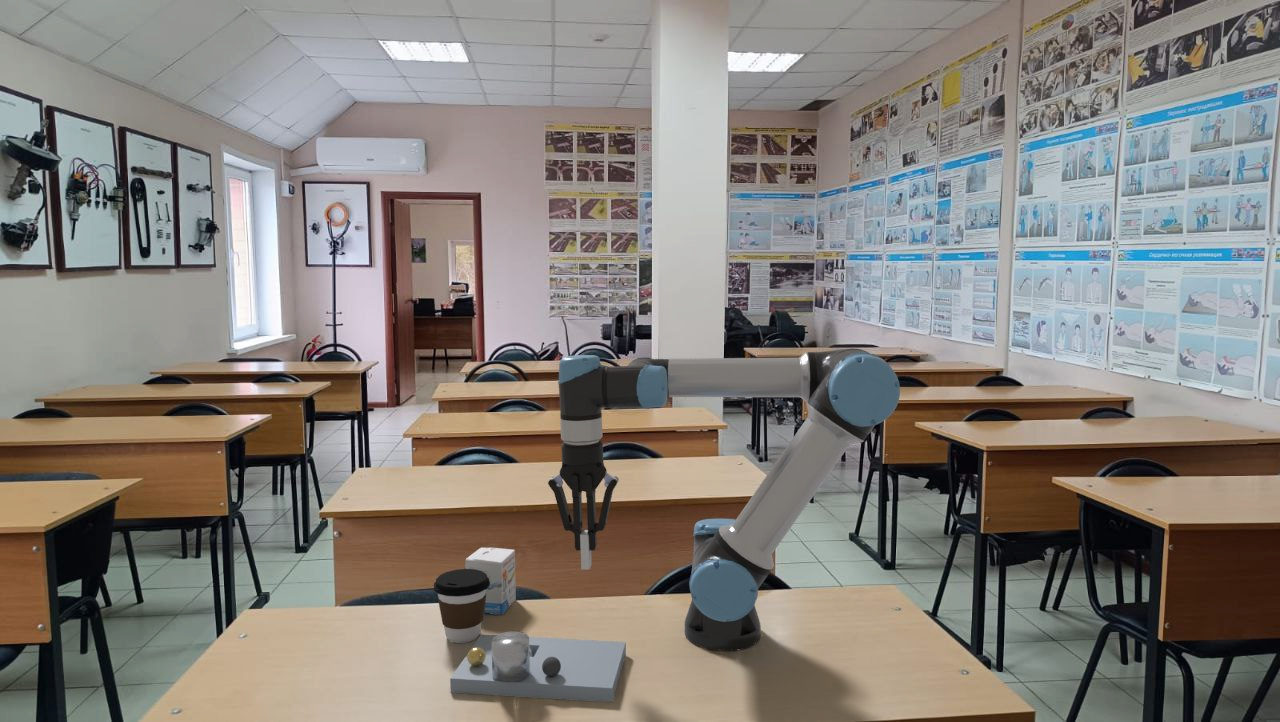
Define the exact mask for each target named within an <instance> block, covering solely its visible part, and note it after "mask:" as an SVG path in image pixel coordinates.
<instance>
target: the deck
mask: <svg viewBox="0 0 1280 722" xmlns="http://www.w3.org/2000/svg"><path fill="white" fill-rule="evenodd" d="M496 635H497V634H483V633H482V634H480V636H478V637H479V638H477V639H476V642H475V643H474V645H473V646H472V647H471V649H472V648H474V647H480V648H482V649H483V650H484V651H485V654H486V658H485V661H484V662H483V663H482V664H481V665H480V666H472V665H470V664H469V662H468V660H467V655H468V653H467V654H466V656H465V657H464V659H463V660H462V661H461V663H460V664H459V665H458V666H457V668H456V669H455V671H454V672H453V673H452V675H451V676H450V679H449V682H450V686H449V687H450V689H449V690H450V693H453V694H455V693H456V694H457V693H458V694H470V695H489V696H501V697H502V696H504V697H519V698H520V697H521V698H534V699H552V700H553V699H554V700H566V701H567V700H568V701H583V702H585V701H586V702H600V703H613V700H614V697H615V695H616V691H617V687H618V684H619V681H620V676H621V673H622V670H623V666H624V662H625V659H626V656H627V653H626V652H627V647H626V644H627V643H626V641H612V640H593V639H592V640H591V639H576V638H575V639H574V638H555V637H538V636H529V648H530V649H531V650H532V653H533V657H530V673H529V675H528V676H527V677H526V678H525V679H523V680H520V681H517V682H500V681H497V680H495V679H494V678H493V676H492V639H493V638H494V637H495V636H496ZM548 657H556V658H557V659H558V660H559V661H560V664H561V669H560V671H559V673H558V674H557V675H555V676H553V677H550V676H547V675H545V674H544V672H543V670H542V664H543V662H544V660H545V659H546V658H548Z"/></svg>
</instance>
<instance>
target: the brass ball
mask: <svg viewBox="0 0 1280 722" xmlns="http://www.w3.org/2000/svg"><path fill="white" fill-rule="evenodd" d="M467 654H468V655H467ZM467 654H466V656H467V660H468V662H469V664H470V665H472V666H480V665H481V664H482V663H483V662H484V661H485V658H486V654H485V651H484V650H483V649H482V648H480V647H474V648H472V647H471V649H469V651H468V652H467Z"/></svg>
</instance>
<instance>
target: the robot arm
mask: <svg viewBox="0 0 1280 722" xmlns="http://www.w3.org/2000/svg"><path fill="white" fill-rule="evenodd" d="M558 363H559V364H558V382H557V384H558V392H559V409H560V410H559V413H560V414H559V415H560V417H559V420H560V439H561V441H562V444H560V445H561V447H560V448H561V467H560V469H559V473H558V474H557V475H555V476H552V477H551V478H550V479H549V480H548V481H547V485H548V487H549V488H550V489H551V491H552V492H553V493H554V498H555V500H556V505H557V507H558V512H559V515H560V518H561V523H562V525H563V530H564V531H566V532H567V531H570V532H572V533H573V535H574V549H575V550H576V551H580V567H581V568H580V569H581V570H585V571H586V570H587V571H589V570H590V569H591V567H592V564H593V561H592V560H593V559H592V558H593V557H592V551H596V549H597V532H598V533H599V532H602V531H603V530H604V529H605V528H606V525H607V521H608V516H609V511H610V507H611V503H612V502H611V501H612V497H613V493H614V489H615V488H616V486H617V485H618V483H619V477H618V476H613V475H612V474H610V473H608V471H607V467H606V466H605V463H604V442H603V441H602V440H601V439H602V438H603V418H602V417H603V415H602V411H603V410H602V409H610V408H611V409H619V408H620V409H625V408H627V409H630V408H631V409H635V408H636V409H639V408H640V409H646V410H649V409H650V408H652V409H653V408H663V407H665V406H666V404H667V402H668V398H801V399H802V400H803V402H805V403H806V409H807V417H806V419H805V420H804V422H802V425H800V427H799V428H798V430H797V432H796V433H795V435H794V436H793V437H792V439H791V440H790V441H789V443H788V445H787V446H786V447H785V448H784V451H783V452H782V453H781V455H779V457H778V458H777V460H776V461H775V463H774V465H773V466H772V467H771V469H770V470H769V472H768V473H767V475H766V476H765V477H764V479H763V480H762V481H761V483H760V484H759V486H758V487H757V489H756V490H755V491H754V493H753V495H752V496H751V497H750V499H749V500H748V502H747V503H746V505H745V506H744V508H743V509H742V510H741V512H740V513H739V514H738V516H737V518H736V519H735V518H706V519H702V520H699V521H697V522H696V523H695V524H694V528H693V533H692V537H693V554H692V555H693V556H692V557H693V558H692V564H691V567H692V568H691V574H690V577H689V582H688V583H689V584H688V586H689V591H690V592H689V593H690V596H691V601H690V604H689V607H688V610H687V613H686V616H685V619H684V636H685V637H686V639H687V640H688V641H689V642H691V643H692V644H695V645H696V646H699V647H701V648H704V649H709V650H713V651H714V650H715V651H723V652H724V651H725V652H726V651H737V650H739V651H740V650H743V649H748V648H750V647H752V646H754V645H755V644H757V643H758V642H759V641H760V640H761V637H762V636H761V634H762V632H761V629H762V628H761V627H762V626H761V621H760V618H759V615H758V611H757V608H756V601H757V599H758V595H759V589H760V587H761V586H762V584H763V582H764V581H765V580H766V579H767V577H768V576H769V575H770V573H771V572H772V570H773V569H774V568H775V564H774V558H773V553H774V552H775V550H776V549H777V548H778V546H779V545H780V543H781V542H782V541H783V539H784V538H785V536H786V535H787V534H788V532H789V531H790V530H791V528H792V526H793V525H794V524H795V522H796V521H797V519H799V517H800V515H801V514H802V512H803V511H804V510H805V509H806V507H807V505H808V504H809V503H810V502H811V500H812V499H813V498H814V496H815V494H816V493H817V491H818V490H819V489H820V488H821V486H822V485H823V483H824V482H825V481H826V479H827V478H828V476H829V475H830V473H832V471H833V469H834V468H835V466H836V464H838V462H839V461H840V459H841V458H842V456H843V455H844V453H846V451H847V449H848V448H849V447H850V446H852V445H853V444H859V443H860V444H861V443H863V442H864V441H865V440H866V438H867V437H868V436H869V434H870V433H871V432H872V430H873V429H874V427H876V425H879V424H880V423H883V422H884V421H886V420H887V419H888V418H889V417H890V416H891V415H892V414H893V413H894V412H895V409H896V408H897V407H898V404H899V401H900V395H901V387H900V386H901V385H900V380H899V379H898V375H897V374H896V372H895V371H894V369H893V368H892V366H891V365H890V364H889V363H888V362H887V361H885V359H883V358H882V357H880V356H878V355H876V354H874V353H871V352H868V351H865V350H863V349H861V348H853V347H852V348H842V349H835V350H826V351H805V352H804V353H802V355H801V356H799V357H733V358H732V357H728V358H727V357H726V358H725V357H722V358H718V357H717V358H715V357H714V358H711V357H709V358H703V357H702V358H651V357H648V356H647V357H638V358H636V359H633V360H632V361H630V362H629V363H628V364H627V365H619V366H606V365H602V363H601V359H600V357H599V356H598V355H594V354H589V355H588V354H577V355H575V354H574V355H567V356H564V357H562V358H561V359H560V360H559V362H558ZM603 480H604V487H605V488H606V489H605V491H604V494H603V500H602V504H601V508H600V509H601V510H600V513H599V519H598V521H597V507H596V504H597V503H596V493H597V492H596V489H597V488H598V487H599V486H600V484H601V482H602V481H603ZM564 482H565V484H566V485H567V486H568V488H569V489H570V490H571V497H572V515H573V516H572V515H571V511H570V508H569V505H568V500H567V498H566V494H565V493H566V492H565V491H564V488H563V485H564ZM582 492H585V498H586V517H587V518H586V519H587V529H583V528H584V525H583V505H582V504H583V502H582V501H583V500H582V499H583V498H582ZM572 517H573V519H572Z"/></svg>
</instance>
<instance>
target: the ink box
mask: <svg viewBox="0 0 1280 722" xmlns="http://www.w3.org/2000/svg"><path fill="white" fill-rule="evenodd" d="M464 561H465V562H464V563H465V569H476V570H480V571H483V572H484V573H486V574H487V577H488V578H489V580H490V585H489V587H488V588H487V589H486V601H485V608H484V614H485V613H492V614H491V615H496V614H501V615H500V616H503V615H504V614H505V612H506V611H508V609H509V608H510V607H511V606H510V604H511V603H512V604H514V603H515V601H516V600H517V599H516V596H517V594H516V550H515V549H512V548H511V549H509V548H501V547H480V548H479V549H477V550H476V551H474V552H473V553H472V554H470V555H469V556H468V557H466V558H465V560H464ZM512 604H511V605H512ZM509 606H510V607H509ZM508 607H509V608H508ZM507 608H508V609H507ZM503 613H504V614H503ZM502 614H503V615H502Z"/></svg>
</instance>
